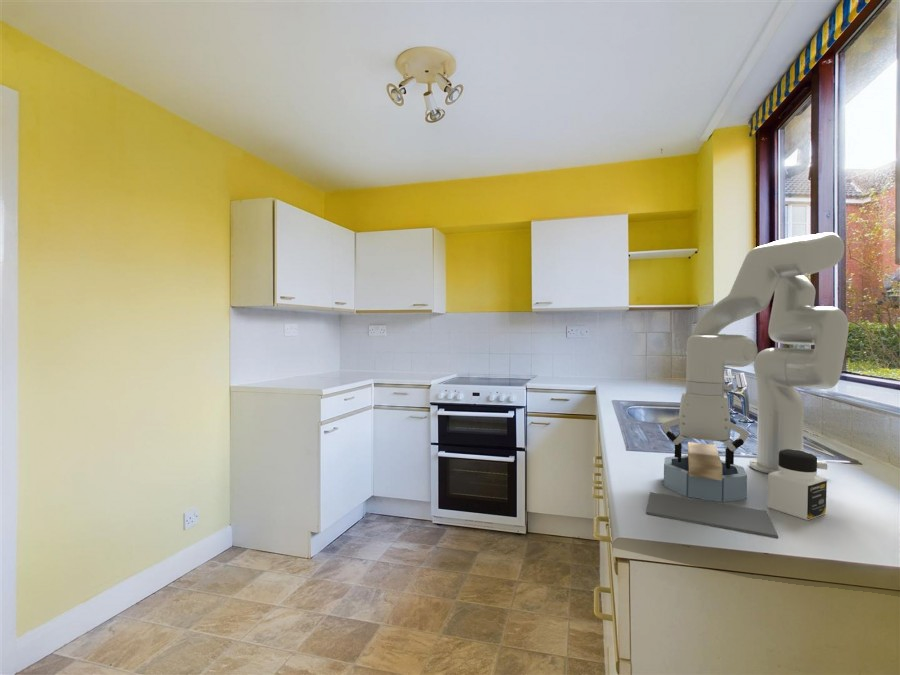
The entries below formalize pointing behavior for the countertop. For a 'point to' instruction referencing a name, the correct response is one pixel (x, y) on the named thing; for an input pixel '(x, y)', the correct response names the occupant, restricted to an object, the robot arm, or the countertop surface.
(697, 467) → the oak board
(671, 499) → the rubber mat
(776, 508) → the medicine bottle
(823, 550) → the countertop surface
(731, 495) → the ceramic bowl
